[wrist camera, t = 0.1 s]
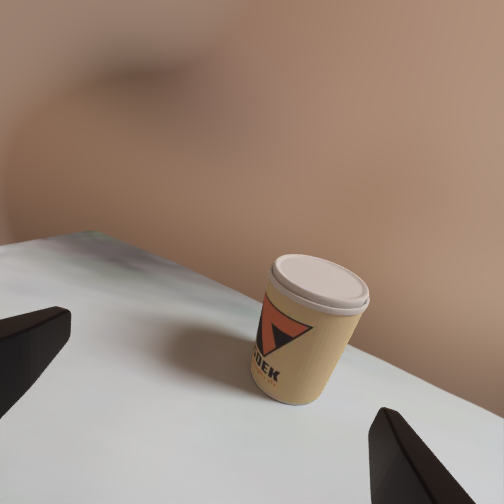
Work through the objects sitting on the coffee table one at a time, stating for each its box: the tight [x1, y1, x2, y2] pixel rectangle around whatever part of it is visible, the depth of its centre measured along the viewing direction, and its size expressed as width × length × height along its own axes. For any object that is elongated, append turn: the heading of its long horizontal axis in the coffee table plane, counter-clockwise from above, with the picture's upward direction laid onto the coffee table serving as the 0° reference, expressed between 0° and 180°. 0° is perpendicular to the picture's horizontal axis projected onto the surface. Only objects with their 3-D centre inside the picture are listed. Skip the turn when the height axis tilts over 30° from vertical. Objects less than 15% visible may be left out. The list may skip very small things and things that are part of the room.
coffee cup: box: [251, 254, 369, 405], centre depth 32 cm, size 9×9×12 cm
